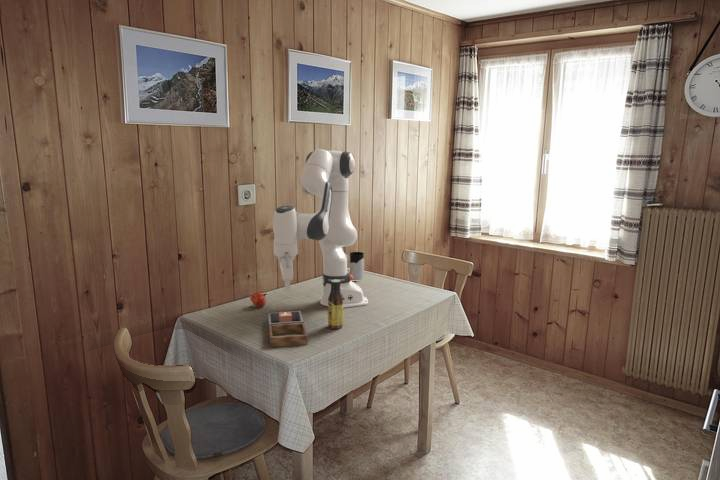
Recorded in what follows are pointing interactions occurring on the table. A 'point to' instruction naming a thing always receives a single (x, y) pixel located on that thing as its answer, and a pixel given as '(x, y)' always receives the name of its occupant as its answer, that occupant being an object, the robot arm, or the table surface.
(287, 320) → the letter cube
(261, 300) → the pomegranate
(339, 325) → the sauce bottle
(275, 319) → the grey box
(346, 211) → the robot arm
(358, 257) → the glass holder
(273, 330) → the walnut box
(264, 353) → the table surface
